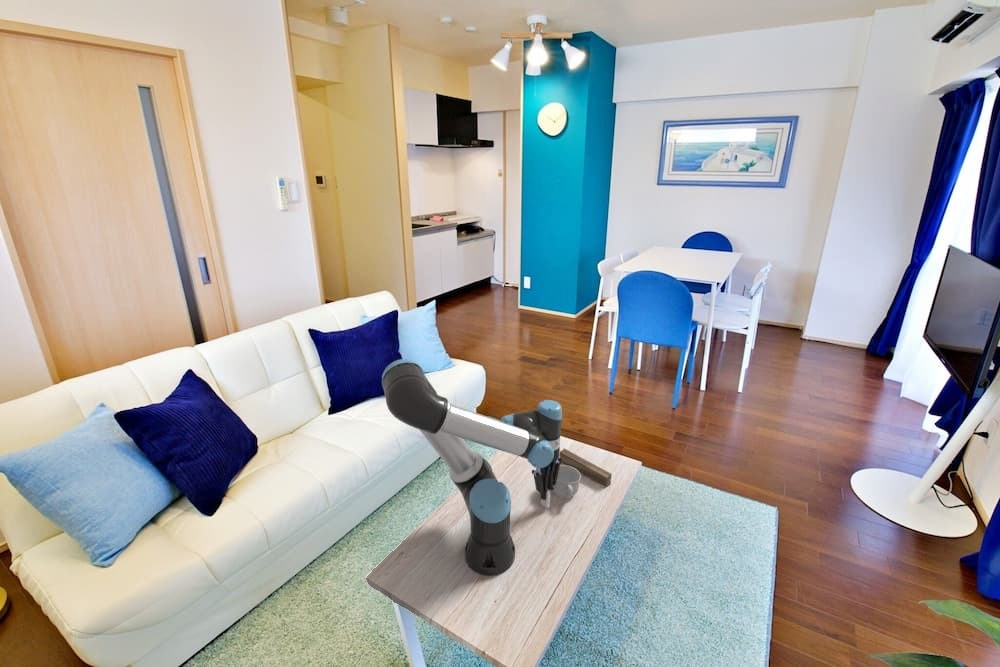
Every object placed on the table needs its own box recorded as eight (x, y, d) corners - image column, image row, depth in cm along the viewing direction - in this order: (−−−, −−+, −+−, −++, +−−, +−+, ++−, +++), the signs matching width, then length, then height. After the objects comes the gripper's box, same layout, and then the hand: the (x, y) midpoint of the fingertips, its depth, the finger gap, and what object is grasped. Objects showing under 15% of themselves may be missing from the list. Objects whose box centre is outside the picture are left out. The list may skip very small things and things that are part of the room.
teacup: (549, 481, 174) (550, 463, 171) (578, 483, 173) (580, 465, 170) (549, 506, 161) (550, 487, 158) (581, 509, 160) (582, 490, 157)
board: (605, 487, 171) (606, 477, 169) (559, 461, 186) (559, 451, 184) (610, 484, 173) (611, 473, 171) (563, 458, 188) (564, 448, 186)
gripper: (543, 459, 145) (540, 520, 153) (569, 443, 153) (566, 501, 161) (525, 449, 150) (524, 508, 158) (552, 434, 158) (549, 491, 166)
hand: (545, 505), depth 160 cm, fingers closed
